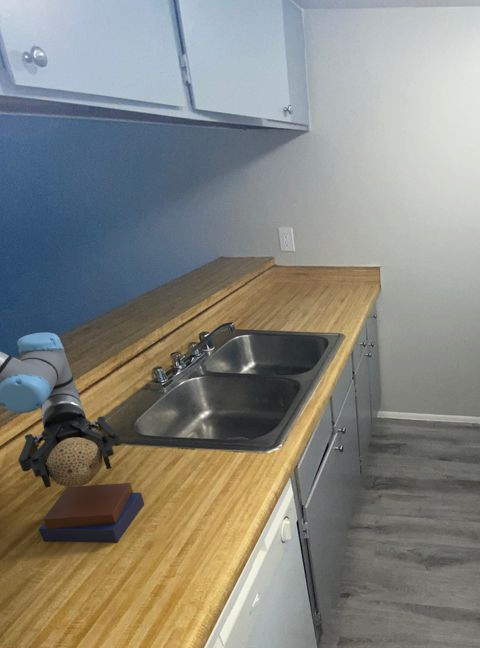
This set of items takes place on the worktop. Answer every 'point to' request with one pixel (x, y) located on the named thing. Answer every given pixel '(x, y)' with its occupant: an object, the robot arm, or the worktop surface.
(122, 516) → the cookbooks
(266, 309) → the worktop surface
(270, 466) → the worktop surface
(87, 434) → the robot arm
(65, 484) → the natural sponge
